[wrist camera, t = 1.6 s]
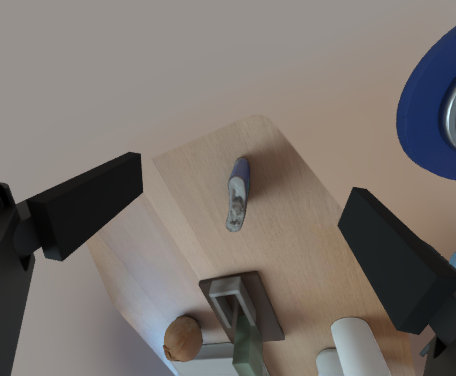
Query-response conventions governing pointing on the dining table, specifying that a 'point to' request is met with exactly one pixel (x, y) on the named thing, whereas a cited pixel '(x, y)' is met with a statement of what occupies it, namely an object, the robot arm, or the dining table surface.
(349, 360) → the cup
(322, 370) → the mug
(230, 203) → the flask
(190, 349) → the onion
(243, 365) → the brown board with holder
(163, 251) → the dining table surface
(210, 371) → the book
